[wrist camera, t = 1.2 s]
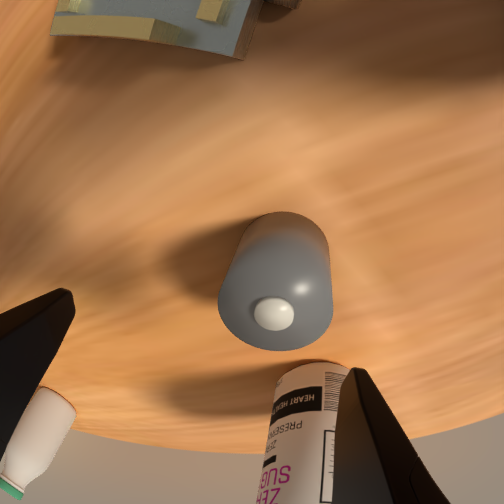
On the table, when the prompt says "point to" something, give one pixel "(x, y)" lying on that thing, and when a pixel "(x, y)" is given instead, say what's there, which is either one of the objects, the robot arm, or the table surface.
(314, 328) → the grey rounded piece
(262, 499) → the supplement can
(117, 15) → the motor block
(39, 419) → the milk bottle
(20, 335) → the robot arm
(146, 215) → the table surface
